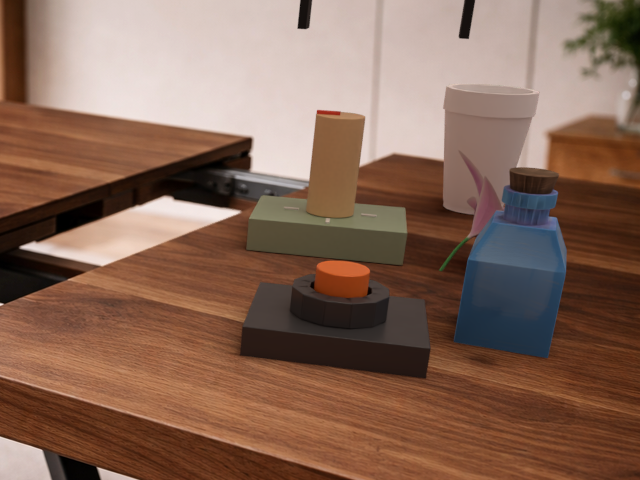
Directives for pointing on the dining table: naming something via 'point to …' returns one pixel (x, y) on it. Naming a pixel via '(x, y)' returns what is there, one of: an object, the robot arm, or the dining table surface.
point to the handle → (335, 163)
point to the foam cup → (483, 137)
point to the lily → (478, 205)
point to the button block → (338, 329)
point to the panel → (328, 231)
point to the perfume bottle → (516, 270)
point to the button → (342, 279)
